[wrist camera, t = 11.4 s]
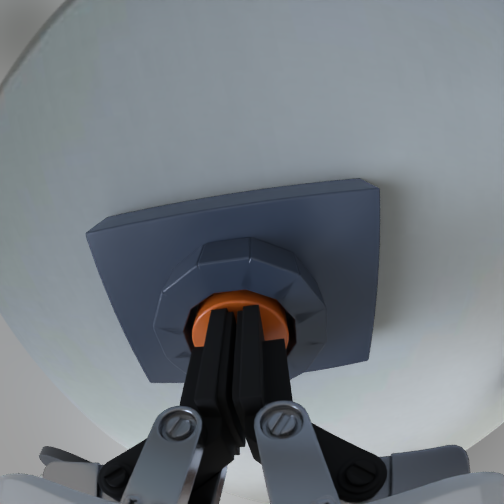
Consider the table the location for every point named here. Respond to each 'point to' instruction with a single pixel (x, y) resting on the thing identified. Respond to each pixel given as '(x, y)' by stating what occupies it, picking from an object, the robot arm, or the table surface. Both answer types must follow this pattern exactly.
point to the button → (234, 302)
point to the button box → (247, 270)
